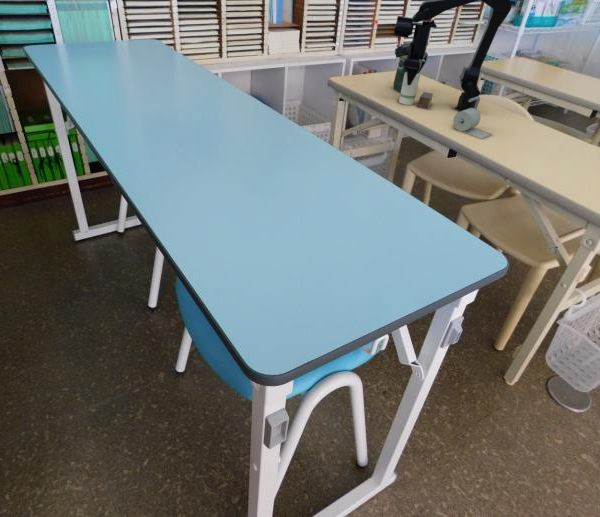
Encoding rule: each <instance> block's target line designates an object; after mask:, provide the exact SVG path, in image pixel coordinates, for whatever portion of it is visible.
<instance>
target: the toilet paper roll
mask: <svg viewBox="0 0 600 517" xmlns="http://www.w3.org/2000/svg"><path fill="white" fill-rule="evenodd" d="M474 100H477V101H476V104H475V108H469V109H466V110H463V111H458V112H457V113H456V114H455V115H454V116H453V120H452V123H453V126H454V128H455V129H456V131H459V132H462V133H465V134H468V135H470V136H474V137H476V138H479V139H484V138H486V137H489V136H490V135H491V134H490V133H488V132H484V131H481V130H479V129H476V128H475V127H477V126H478V125H479V124H480V122H481V118H482V117H481V113H480V111H479V110H478V107H479V104H480V100H481V97H480V95H479V96H477V97H474V98H472V99H469V102H472V101H474Z"/></svg>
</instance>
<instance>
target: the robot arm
mask: <svg viewBox="0 0 600 517" xmlns="http://www.w3.org/2000/svg"><path fill="white" fill-rule="evenodd" d="M478 1H479V0H424V1H422V2H421V4H419V8H418V11H416V13H415V14H413V16H412V17H409V16H408V17H406V16H402V15H397V16H396V17H397V18H396V23H395V25H394V31H393V37H397V38H406V39H408V38H409V37H411V36H412V35H413V36H412V41H410V42H409V43H410V45H407V46H402V45H403V44H401V45H398V46H397V47H396V48H394V55H395V58H396V59H399V57H401V56H406V55H407V57H408V58H406V59H405V60H404V63H403V66H404V68H405V69H406V70H407V85H411V83H412V82H413V80H414V78H415V76H416V75H417V73H418V74H420V72H421V71H422V69H423V68H424V66H425V64H426V63H427V61H428V58H429V54H428V53H427V48H428V46H429V39H430V38H429V37H430V34H431V29H433V28H434V29H437V27H438V25H437V23H436V21H435V19H433V18H435V17H438V16H439V15H441V14H442V13H445V12H446V11H449V10H451V9H456V8H459V7H463V6H465V5H469V4H471V3H474V2H478ZM480 1H481V2H482V3H484V4H485V5H487V6H488V7H490V10H489V14H488V19H487V24H486V26H485V29H484V31H483V34H482V36H481V38H480V40H479V43H478V45H477V47H476V50H475V52H474V55H473V57H472V59H471V62H470V63H469V65H467V67H465V66H463V68H462V72H461V74H460V76H458V77H459V84H460V87H461V90H463V92H461V93H460V95H459V97H458V100H457V103H456V104H457V105H456V106H455V107H454V109H455V110H457V111H459V112H461V111H463V110H466V109H469V108H475V104H476V101H477V100H474V101H472V102H469V99H472V98H474V97H477V96H479V97H480V96H481V90H480V88H479V86H478V82H479V80H480V74H481V68H482V66H483V63H484V61H485V59H486V58H487V54H488V52H489V50H490V48H491V45H492V44H493V41H494V39H495V36H496V34H497V32H498V30H499V28H500V26H501V25H502V24H503V23H504V21H505V20H506V18H508V15H509V14H510V12H511V10H512V7H513V6H512V1H511V0H480ZM431 19H432V20H431ZM429 20H430V21H429ZM413 31H414V32H413Z"/></svg>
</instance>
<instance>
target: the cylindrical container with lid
mask: <svg viewBox="0 0 600 517" xmlns="http://www.w3.org/2000/svg"><path fill="white" fill-rule="evenodd" d="M420 78H421V74H420V73H419V74H418V73H417V75H416V76H415V78H414V80H413V82H412V83H411V85H407V72H405V74H404V79H403V84H402V89H401V92H400V93H399V98H398V102H399V103H400V104H402V105H405V106H411V105H412V106H413V105H414V104H415V100H416V97H417V91H418V87H419V83H420Z"/></svg>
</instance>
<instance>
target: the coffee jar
mask: <svg viewBox="0 0 600 517" xmlns="http://www.w3.org/2000/svg"><path fill="white" fill-rule="evenodd" d="M410 43H411V42H404V43H402V44H401V45H402V46H407V45H410ZM406 58H408V57H407V55H406V56H401V57H399V58H398V62H397V67H396V73H395V76H394V78H393V79H394V80H393V84H392V88H393V90H396V91H397V92H400V93H401V89H402V84H403V79H404V74H405V72H407V70H406V69H405V68H404V66H403V63H404V60H405V59H406Z"/></svg>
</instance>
